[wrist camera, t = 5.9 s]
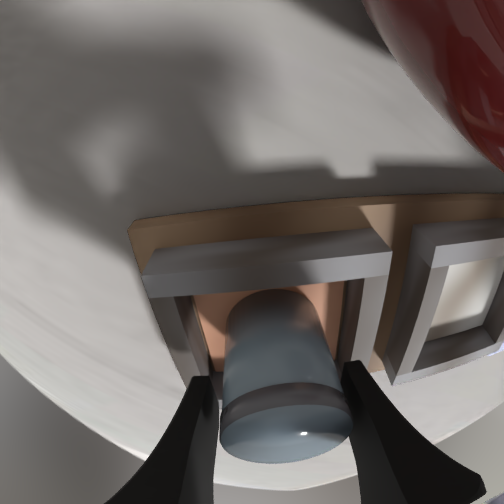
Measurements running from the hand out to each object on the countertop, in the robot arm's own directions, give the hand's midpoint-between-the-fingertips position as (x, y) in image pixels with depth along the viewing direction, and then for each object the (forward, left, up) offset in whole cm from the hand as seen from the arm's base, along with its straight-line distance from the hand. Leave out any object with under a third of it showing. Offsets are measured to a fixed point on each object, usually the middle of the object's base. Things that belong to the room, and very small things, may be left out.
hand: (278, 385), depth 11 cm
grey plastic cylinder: (0, 0, -3) cm, 3 cm away
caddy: (-5, 0, -5) cm, 7 cm away
